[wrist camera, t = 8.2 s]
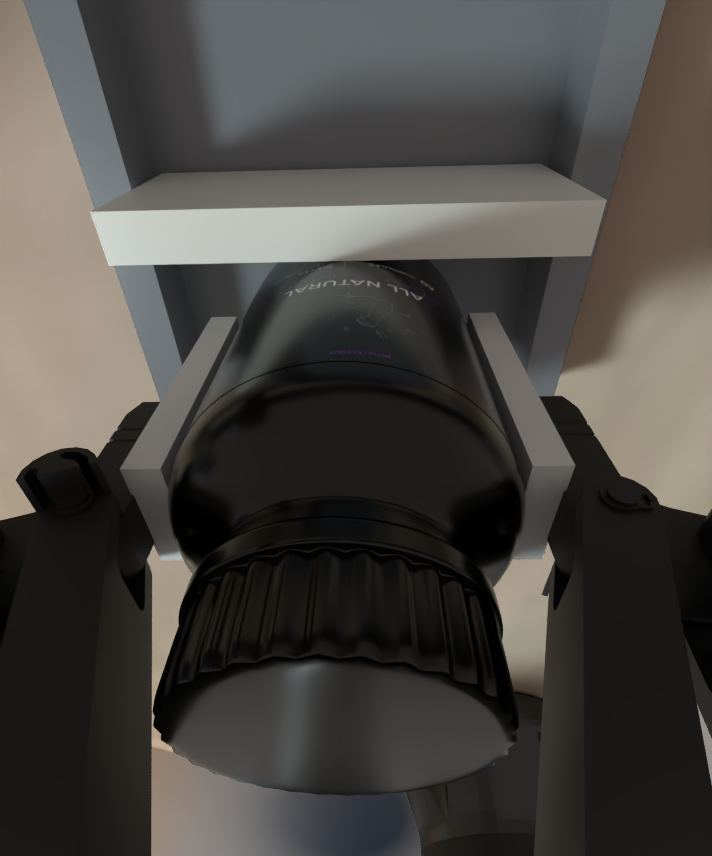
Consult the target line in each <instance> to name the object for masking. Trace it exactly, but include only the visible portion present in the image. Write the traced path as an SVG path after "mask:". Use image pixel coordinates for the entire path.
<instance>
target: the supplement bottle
mask: <svg viewBox="0 0 712 856" xmlns="http://www.w3.org/2000/svg"><path fill="white" fill-rule="evenodd" d="M168 510H169V519H170V524H171V528H172V533H173V536H174V539H175V542H176V545H177V547H178V550H179V552H180V554H181V556H182V558H183V560H184V562H185V564H186V565H187V567H188V568H189V570H190V571H191V573H192V576H191V579H190V581H189V584H188V587H187V589H186V592H185V595H184V598H183V601H182V604H181V607H180V611H179V627H178V630H177V633H176V635H175V638H174V641H173V644H172V647H171V650H170V653H169V656H168V659H167V662H166V665H165V668H164V671H163V674H162V676H161V679H160V682H159V685H158V689H157V692H156V695H155V700H154V706H153V713H154V715H155V718H154V724H153V726H154V727H155V728H156V729H157V730H158V731H159V732H160V733H161V740H162V741H163V742H165V743H166V744H168V745H169V746H171V747H172V749H173V751H174V753H176V754H178V755H180V756H183V757H185V758H187V759H188V760H189V761H190V762H191V763H192V764H194V765H197V766H200V767H203V768H206V769H208V770H209V771H211V772H212V773H214V774H218V775H222V776H226V777H229V778H231V779H234V780H236V781H239V782H244V783H250V784H254V785H257V786H261V787H265V788H273V789H280V790H285V791H289V792H302V793H311V794H318V795H343V796H352V795H381V794H390V793H391V794H393V793H405V792H409V791H414V790H424V789H430V788H433V787H436V786H439V785H445V784H450V783H454V782H456V781H458V780H460V779H463V778H467V777H471V776H474V775H476V774H477V773H478V772H480V771H481V770H484V769H487V768H489V767H492V766H494V764H495V763H496V761H497V760H499V759H501V758H503V757H505V756H506V755H508V748H510V747H511V746H512V745H513V744H515V743H516V742H517V733H516V731H517V730H518V728H519V716H518V709H517V704H516V700H515V695H514V691H513V686H512V682H511V678H510V673H509V669H508V665H507V661H506V656H505V652H504V648H503V644H502V637H503V624H502V618H501V614H500V610H499V606H498V602H497V598H496V595H495V592H494V589H493V587H494V586H495V585H496V584H497V583H498V581H499V580H500V579H501V577H502V576H503V574H504V573H505V571H506V570H507V568H508V566H509V565H510V563H511V561H512V559H513V557H514V555H515V552H516V550H517V547H518V544H519V541H520V538H521V534H522V530H523V524H524V518H525V493H524V485H523V482H522V478H521V474H520V471H519V467H518V463H517V460H516V456H515V454H514V451H513V448H512V445H511V443H510V440H509V437H508V435H507V432H506V429H505V427H504V424H503V421H502V419H501V416H500V413H499V411H498V408H497V406H496V403H495V400H494V398H493V395H492V392H491V390H490V387H489V384H488V382H487V379H486V376H485V374H484V371H483V368H482V366H481V363H480V360H479V358H478V355H477V352H476V350H475V347H474V345H473V342H472V339H471V337H470V334H469V331H468V329H467V326H466V323H465V321H464V318H463V315H462V313H461V310H460V308H459V306H458V303H457V301H456V299H455V296H454V294H453V292H452V290H451V288H450V286H449V285H448V283H447V281H446V280H445V278H444V277H443V275H442V274H441V273H440V271H439V270H438V269H437V268H436V267H435V266H434V265H433V263H431V262H430V261H429V260H428V259H416V260H366V261H317V262H278V263H277V264H276V265H275V267H274V268H273V269H272V270H271V271H270V272H269V274H268V275H267V277H266V278H265V279H264V281H263V282H262V284H261V286H260V288H259V290H258V291H257V293H256V295H255V297H254V298H253V300H252V302H251V304H250V306H249V308H248V310H247V312H246V314H245V316H244V318H243V320H242V322H241V324H240V326H239V328H238V330H237V332H236V334H235V336H234V338H233V340H232V342H231V344H230V346H229V348H228V350H227V352H226V354H225V356H224V358H223V360H222V363H221V365H220V367H219V369H218V371H217V373H216V375H215V377H214V379H213V381H212V383H211V385H210V387H209V389H208V391H207V393H206V395H205V397H204V399H203V401H202V403H201V405H200V407H199V409H198V411H197V413H196V415H195V417H194V419H193V421H192V423H191V425H190V427H189V429H188V431H187V433H186V435H185V437H184V439H183V442H182V444H181V447H180V449H179V452H178V454H177V457H176V459H175V462H174V465H173V467H172V471H171V475H170V480H169V486H168Z"/></svg>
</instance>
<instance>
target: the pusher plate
mask: <svg viewBox="0 0 712 856" xmlns="http://www.w3.org/2000/svg"><path fill="white" fill-rule="evenodd" d="M606 201H607V200H606V199H604V198H602V197H601V196H599V195H597V194H595V193H593V192H592V191H590V190H588V189H586V188H584V187H582V186H581V185H579V184H577V183H575V182H573V181H571V180H570V179H568V178H566V177H564V176H562V175H560V174H559V173H557V172H555V171H553V170H551V169H550V168H548V167H546V166H544V165H542V164H503V165H464V166H424V167H384V168H345V169H305V170H266V171H226V172H186V173H162V174H161V175H159V176H157V177H155V178H153V179H151V180H149V181H147V182H145V183H144V184H142V185H140V186H138V187H136V188H134V189H132V190H130V191H128V192H127V193H125V194H123V195H121V196H119V197H117V198H115V199H113V200H112V201H110V202H108V203H106V204H104V205H102V206H100V207H98V208H96V209H95V210H93V211H91V212H90V213H91V216H92V219H93V222H94V224H95V227H96V230H97V233H98V236H99V239H100V242H101V244H102V247H103V250H104V253H105V256H106V259H107V262H108V265H109V266H119V265H168V264H218V263H267V262H317V261H366V260H416V259H465V258H515V257H564V256H591V254H592V251H593V247H594V244H595V240H596V236H597V233H598V229H599V226H600V222H601V219H602V215H603V211H604V208H605V204H606Z"/></svg>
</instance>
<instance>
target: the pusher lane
mask: <svg viewBox="0 0 712 856" xmlns="http://www.w3.org/2000/svg"><path fill="white" fill-rule="evenodd" d="M24 3H25V6H26V9H27V12H28V15H29V18H30V21H31V24H32V26H33V29H34V32H35V35H36V38H37V41H38V44H39V47H40V50H41V53H42V56H43V59H44V62H45V65H46V67H47V70H48V73H49V76H50V79H51V82H52V85H53V88H54V91H55V94H56V97H57V100H58V103H59V106H60V108H61V111H62V114H63V117H64V120H65V123H66V126H67V129H68V132H69V135H70V138H71V141H72V144H73V147H74V149H75V152H76V155H77V158H78V161H79V164H80V167H81V170H82V173H83V176H84V179H85V182H86V185H87V188H88V191H89V193H90V196H91V199H92V202H93V205H94V208H95V209H96V208H98V207H100V206H102V205H104V204H106V203H108V202H110V201H112V200H113V199H115V198H117V197H119V196H121V195H123V194H125V193H127V192H128V191H130V190H132V189H134V188H136V187H138V186H140V185H142V184H144V183H145V182H147V181H149V180H151V179H153V178H155V177H157V176H159V175H161V174H162V173H186V172H226V171H266V170H305V169H345V168H384V167H424V166H464V165H503V164H542V165H544V166H546V167H548V168H550V169H551V170H553V171H555V172H557V173H559V174H560V175H562V176H564V177H566V178H568V179H570V180H571V181H573V182H575V183H577V184H579V185H581V186H582V187H584V188H586V189H588V190H590V191H592V192H593V193H595V194H597V195H599V196H601V197H602V198H604V199H606V200H607V201H606V204H605V208H604V211H603V215H602V219H601V222H600V226H599V229H598V233H597V236H596V240H595V244H594V247H593V251H592V254H591V256H564V257H515V258H465V259H428V260H429V261H430V262H431V263H433V265H434V266H435V267H436V268H437V269H438V270H439V271H440V273H441V274H442V275H443V277H444V278H445V280H446V281H447V283H448V285H449V286H450V288H451V290H452V292H453V294H454V296H455V299H456V301H457V303H458V306H459V308H460V310H461V313H462V315H463V318H464V321H465V323H466V326H467V321H468V313H495V314H496V316H497V318H498V320H499V321H500V323H501V325H502V327H503V329H504V331H505V333H506V335H507V337H508V339H509V340H510V342H511V344H512V346H513V348H514V350H515V352H516V354H517V356H518V358H519V359H520V361H521V363H522V365H523V367H524V369H525V371H526V373H527V375H528V377H529V378H530V380H531V382H532V384H533V386H534V388H535V390H536V392H537V394H538V396H554V394H555V391H556V387H557V384H558V380H559V377H560V373H561V370H562V366H563V363H564V359H565V356H566V352H567V349H568V345H569V342H570V338H571V335H572V331H573V328H574V324H575V321H576V317H577V313H578V310H579V306H580V303H581V299H582V296H583V292H584V289H585V285H586V282H587V278H588V275H589V271H590V268H591V264H592V261H593V257H594V254H595V250H596V247H597V243H598V240H599V236H600V232H601V229H602V225H603V222H604V218H605V215H606V211H607V208H608V204H609V201H610V197H611V194H612V190H613V187H614V183H615V180H616V176H617V173H618V169H619V166H620V162H621V159H622V155H623V151H624V148H625V144H626V141H627V137H628V134H629V130H630V127H631V123H632V120H633V116H634V113H635V109H636V106H637V102H638V99H639V95H640V92H641V88H642V85H643V81H644V78H645V74H646V70H647V67H648V63H649V60H650V56H651V53H652V49H653V46H654V42H655V39H656V35H657V32H658V28H659V25H660V21H661V18H662V14H663V11H664V7H665V4H666V0H24ZM277 263H278V262H267V263H218V264H168V265H119V266H114V267H115V270H116V273H117V275H118V278H119V281H120V284H121V287H122V290H123V293H124V296H125V299H126V302H127V305H128V308H129V311H130V314H131V317H132V319H133V322H134V325H135V328H136V331H137V334H138V337H139V340H140V343H141V346H142V349H143V352H144V355H145V358H146V360H147V363H148V366H149V369H150V372H151V375H152V378H153V381H154V384H155V387H156V390H157V393H158V396H159V399H160V401H161V400H162V398H163V397H164V395H165V393H166V392H167V390H168V388H169V387H170V385H171V383H172V382H173V380H174V378H175V377H176V375H177V373H178V372H179V370H180V368H181V367H182V365H183V363H184V362H185V360H186V358H187V357H188V355H189V354H190V352H191V350H192V349H193V347H194V345H195V344H196V342H197V340H198V339H199V337H200V335H201V334H202V332H203V330H204V329H205V327H206V325H207V324H208V322H209V320H210V319H211V317H237V319H238V325H239V326H240V324H241V322H242V320H243V318H244V316H245V314H246V312H247V310H248V308H249V306H250V304H251V302H252V300H253V298H254V297H255V295H256V293H257V291H258V290H259V288H260V286H261V284H262V282H263V281H264V279H265V278H266V277H267V275H268V274H269V272H270V271H271V270H272V269H273V268H274V267H275V265H276V264H277Z"/></svg>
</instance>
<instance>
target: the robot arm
mask: <svg viewBox="0 0 712 856" xmlns="http://www.w3.org/2000/svg"><path fill="white" fill-rule="evenodd" d="M238 328H239V325H238V319H237V317H211V319H210V320H209V322H208V324H207V325H206V327H205V329H204V330H203V332H202V334H201V335H200V337H199V339H198V340H197V342H196V344H195V345H194V347H193V349H192V350H191V352H190V354H189V355H188V357H187V358H186V360H185V362H184V363H183V365H182V367H181V368H180V370H179V372H178V373H177V375H176V377H175V378H174V380H173V382H172V383H171V385H170V387H169V388H168V390H167V392H166V393H165V395H164V397H163V398H162V400H161V402H143V403H141V404H140V405H139V406H137V407H136V408H135V409H133V410H132V411H131V412H129V413H128V414H127V415H126V416H125V418H124V419H123V421H122V422H121V424H120V425H119V427H118V428H117V429H118V430H117V431H115V432H114V434H113V435H112V437H111V438H110V443H107V444H106V446H105V447H104V449H103V450H102V452H101V453H100V455H99V456H98V457H97V458H96V456H95V454H94V453H92V452H91V451H89V450H88V449H83V448H78V447H75V448H65V449H60V450H57V451H53V452H50V453H47V454H45V455H43V456H41V457H39V458H38V459H36V460H34V461H32V462H31V463H30V464H29V465H28V466H26V467H25V468H24V469H23V470H22V471H21V472H20V474H19V476H18V477H17V479H16V481H17V483H18V484H19V486H20V487H21V489H22V490H23V492H24V494H25V495H26V497H27V498H28V500H29V501H30V503H31V504H32V506H33V507H34V509H35V510H36V512H34V513H31V514H26V515H22V516H18V517H14V518H10V519H5V520H1V521H0V856H151V729H152V573H151V570H150V566H149V564H148V562H147V558H148V556H149V554H150V551H151V549H152V547H153V545H154V546H155V548H156V550H157V552H158V555H159V557H160V559H161V560H183V558H182V556H181V554H180V552H179V550H178V547H177V545H176V542H175V539H174V536H173V533H172V528H171V524H170V519H169V510H168V486H169V480H170V475H171V471H172V467H173V465H174V462H175V459H176V457H177V454H178V452H179V449H180V447H181V444H182V442H183V439H184V437H185V435H186V433H187V431H188V429H189V427H190V425H191V423H192V421H193V419H194V417H195V415H196V413H197V411H198V409H199V407H200V405H201V403H202V401H203V399H204V397H205V395H206V393H207V391H208V389H209V387H210V385H211V383H212V381H213V379H214V377H215V375H216V373H217V371H218V369H219V367H220V365H221V363H222V360H223V358H224V356H225V354H226V352H227V350H228V348H229V346H230V344H231V342H232V340H233V338H234V336H235V334H236V332H237V330H238ZM467 329H468V331H469V334H470V337H471V339H472V342H473V345H474V347H475V350H476V352H477V355H478V358H479V360H480V363H481V366H482V368H483V371H484V374H485V376H486V379H487V382H488V384H489V387H490V390H491V392H492V395H493V398H494V400H495V403H496V406H497V408H498V411H499V413H500V416H501V419H502V421H503V424H504V427H505V429H506V432H507V435H508V437H509V440H510V443H511V445H512V448H513V451H514V454H515V456H516V460H517V463H518V467H519V471H520V474H521V478H522V482H523V485H524V493H525V518H524V524H523V530H522V534H521V538H520V541H519V544H518V547H517V550H516V552H515V555H514V557H513V559H542V557H543V554H544V552H545V549H546V546H547V543H549V546H550V548H551V551H552V553H553V556H554V559H555V561H554V564H553V566H552V569H551V572H550V574H549V577H548V579H547V582H546V584H545V587H544V590H543V593H542V595H544V596H548V593H549V601H548V618H547V636H546V653H545V671H544V688H543V701H542V700H539V699H537V698H534V697H530V696H526V695H521V694H515V693H514V695H515V700H516V704H517V709H518V716H519V728H518V730H517V731H516V733H517V742H516V743H515V744H513V745H512V746H511V747H510V748H508V755H506V756H505V757H503V758H501V759H499V760H497V761H496V763H495V764H494V766H492V767H489V768H487V769H484V770H481V771H480V772H478V773H477V774H476V775H474V776H471V777H467V778H463V779H460V780H458V781H456V782H454V783H450V784H445V785H439V786H436V787H433V788H430V789H424V790H414V791H409V792H406V795H407V798H408V801H409V804H410V808H411V811H412V814H413V817H414V820H415V823H416V826H417V829H418V833H419V838H420V846H421V856H712V785H711V780H710V774H709V768H708V763H707V758H706V752H705V746H704V741H703V736H702V730H701V724H700V719H699V713H698V708H697V704H698V707H699V709H700V712H701V714H702V716H703V718H704V721H705V723H706V725H707V728H708V730H709V733H710V735H711V738H712V509H711V511H710V512H709V514H708V515H707V516H704V515H699V514H695V513H690V512H686V511H681V510H677V509H672V508H669V507H665V506H662V505H660V504H659V502H658V500H657V498H656V497H655V496H654V495H653V494H652V493H651V492H650V491H649V490H648V489H647V488H646V487H644V486H642V485H641V484H639V483H637V482H635V481H634V480H631V479H628V478H625V477H622V476H620V474H619V473H618V471H617V469H616V468H615V466H614V465H613V463H612V461H611V460H610V458H609V457H608V455H607V453H606V452H605V450H604V449H603V447H602V445H601V444H600V442H599V441H598V439H597V437H596V436H594V433H593V431H592V429H591V428H590V426H589V425H587V421H586V420H585V418H584V417H583V415H582V413H581V412H580V410H579V408H577V407H576V406H575V405H574V404H572V403H571V402H570V401H568V400H567V399H566V398H564V397H563V396H538V394H537V392H536V390H535V388H534V386H533V384H532V382H531V380H530V378H529V377H528V375H527V373H526V371H525V369H524V367H523V365H522V363H521V361H520V359H519V358H518V356H517V354H516V352H515V350H514V348H513V346H512V344H511V342H510V340H509V339H508V337H507V335H506V333H505V331H504V329H503V327H502V325H501V323H500V321H499V320H498V318H497V316H496V314H495V313H468V321H467Z"/></svg>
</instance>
